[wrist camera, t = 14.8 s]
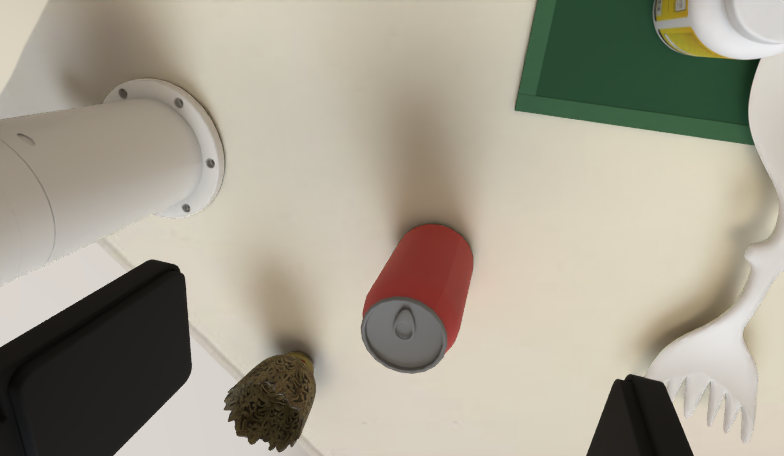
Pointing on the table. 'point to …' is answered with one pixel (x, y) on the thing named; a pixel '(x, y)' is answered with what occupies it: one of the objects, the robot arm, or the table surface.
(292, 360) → the cup
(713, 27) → the pill bottle
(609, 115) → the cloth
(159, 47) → the table surface
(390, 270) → the beer can
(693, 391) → the white plastic utensil
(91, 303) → the robot arm
